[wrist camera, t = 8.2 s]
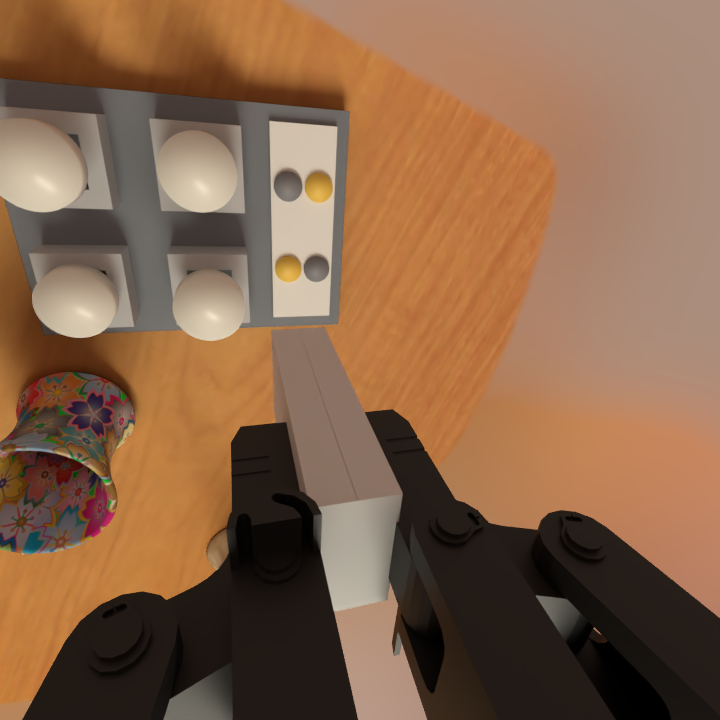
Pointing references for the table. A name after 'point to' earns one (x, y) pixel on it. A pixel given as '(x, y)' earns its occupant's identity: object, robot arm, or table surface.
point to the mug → (61, 462)
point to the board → (184, 227)
